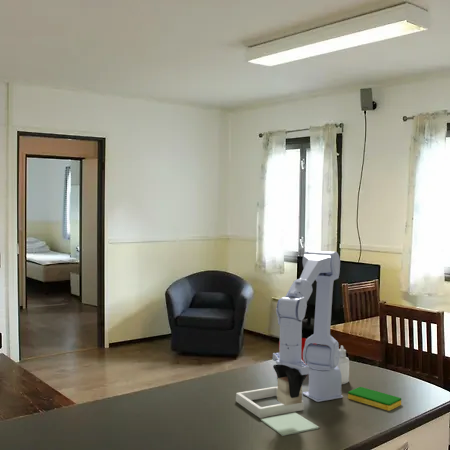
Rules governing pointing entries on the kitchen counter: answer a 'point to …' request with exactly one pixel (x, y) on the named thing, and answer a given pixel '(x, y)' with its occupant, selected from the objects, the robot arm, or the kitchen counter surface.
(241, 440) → the kitchen counter surface
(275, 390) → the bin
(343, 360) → the eye dropper bottle
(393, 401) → the dish sponge
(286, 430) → the pad
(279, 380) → the birch block
